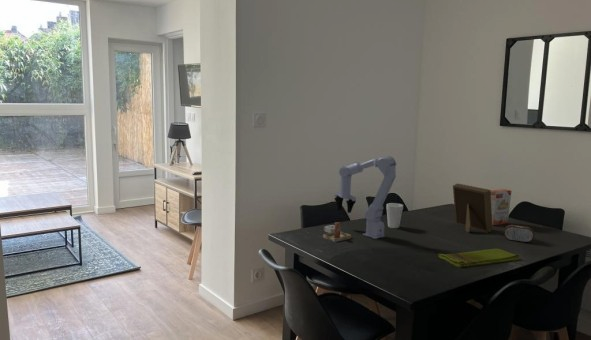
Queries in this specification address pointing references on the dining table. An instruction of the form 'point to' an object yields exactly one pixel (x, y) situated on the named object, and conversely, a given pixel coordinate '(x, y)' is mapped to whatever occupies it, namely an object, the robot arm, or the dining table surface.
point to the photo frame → (472, 207)
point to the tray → (342, 237)
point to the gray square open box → (330, 228)
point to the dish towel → (479, 257)
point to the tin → (519, 233)
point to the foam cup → (394, 214)
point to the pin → (337, 230)
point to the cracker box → (500, 206)
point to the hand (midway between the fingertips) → (344, 211)
